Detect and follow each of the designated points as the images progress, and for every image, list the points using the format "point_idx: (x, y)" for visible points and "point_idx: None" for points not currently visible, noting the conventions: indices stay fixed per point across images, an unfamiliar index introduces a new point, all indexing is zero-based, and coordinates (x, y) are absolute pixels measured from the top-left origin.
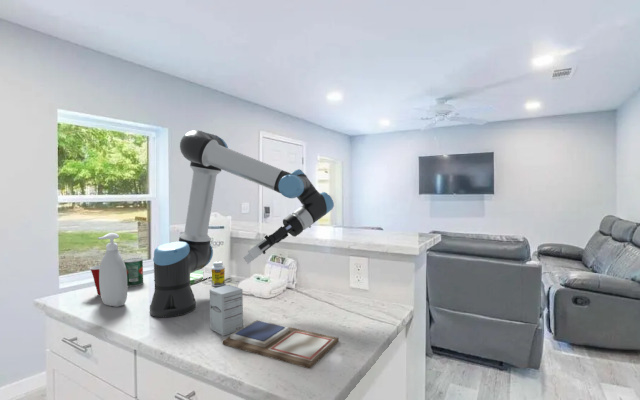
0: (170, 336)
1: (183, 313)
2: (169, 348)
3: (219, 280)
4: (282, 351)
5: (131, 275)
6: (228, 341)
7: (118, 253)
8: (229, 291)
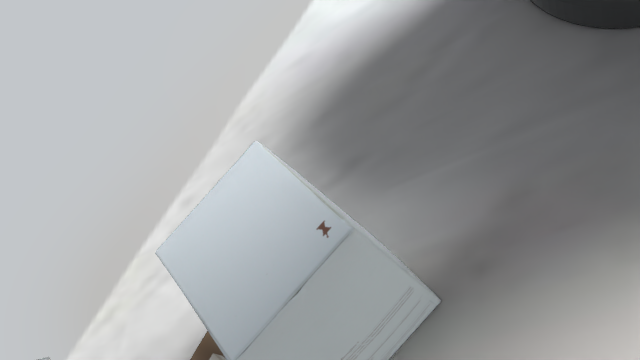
0: (315, 99)
1: (554, 14)
2: (225, 147)
3: None
4: None
5: None
6: (197, 354)
7: None
8: (190, 282)
